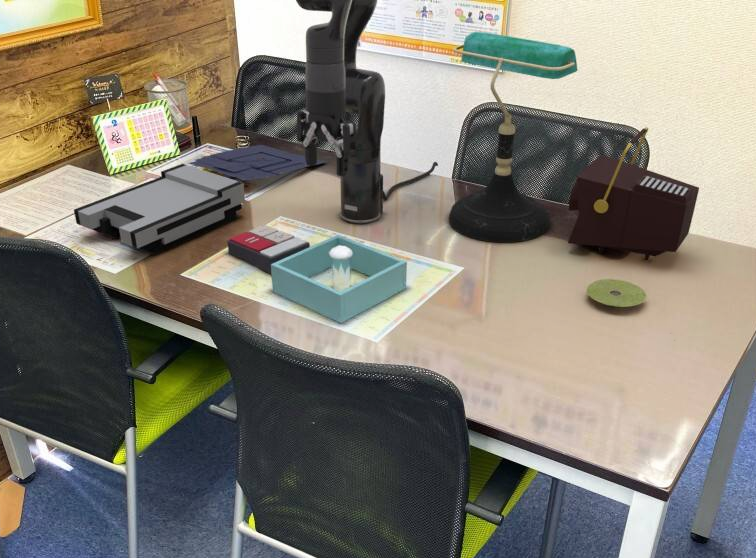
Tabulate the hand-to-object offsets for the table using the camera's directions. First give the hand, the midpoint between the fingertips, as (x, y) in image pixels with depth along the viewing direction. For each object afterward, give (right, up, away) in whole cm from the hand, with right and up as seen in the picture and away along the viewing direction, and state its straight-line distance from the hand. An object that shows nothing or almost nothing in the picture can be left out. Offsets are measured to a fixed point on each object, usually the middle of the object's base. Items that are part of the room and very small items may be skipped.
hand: (326, 169), depth 171 cm
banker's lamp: (+39, -4, +29) cm, 49 cm away
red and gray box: (-13, -15, +15) cm, 25 cm away
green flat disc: (+57, -26, -2) cm, 62 cm away
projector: (+64, -13, +17) cm, 68 cm away
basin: (+3, -24, +2) cm, 24 cm away
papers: (-20, +15, +58) cm, 63 cm away
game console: (-38, -6, +28) cm, 48 cm away
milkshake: (+3, -24, +2) cm, 24 cm away
